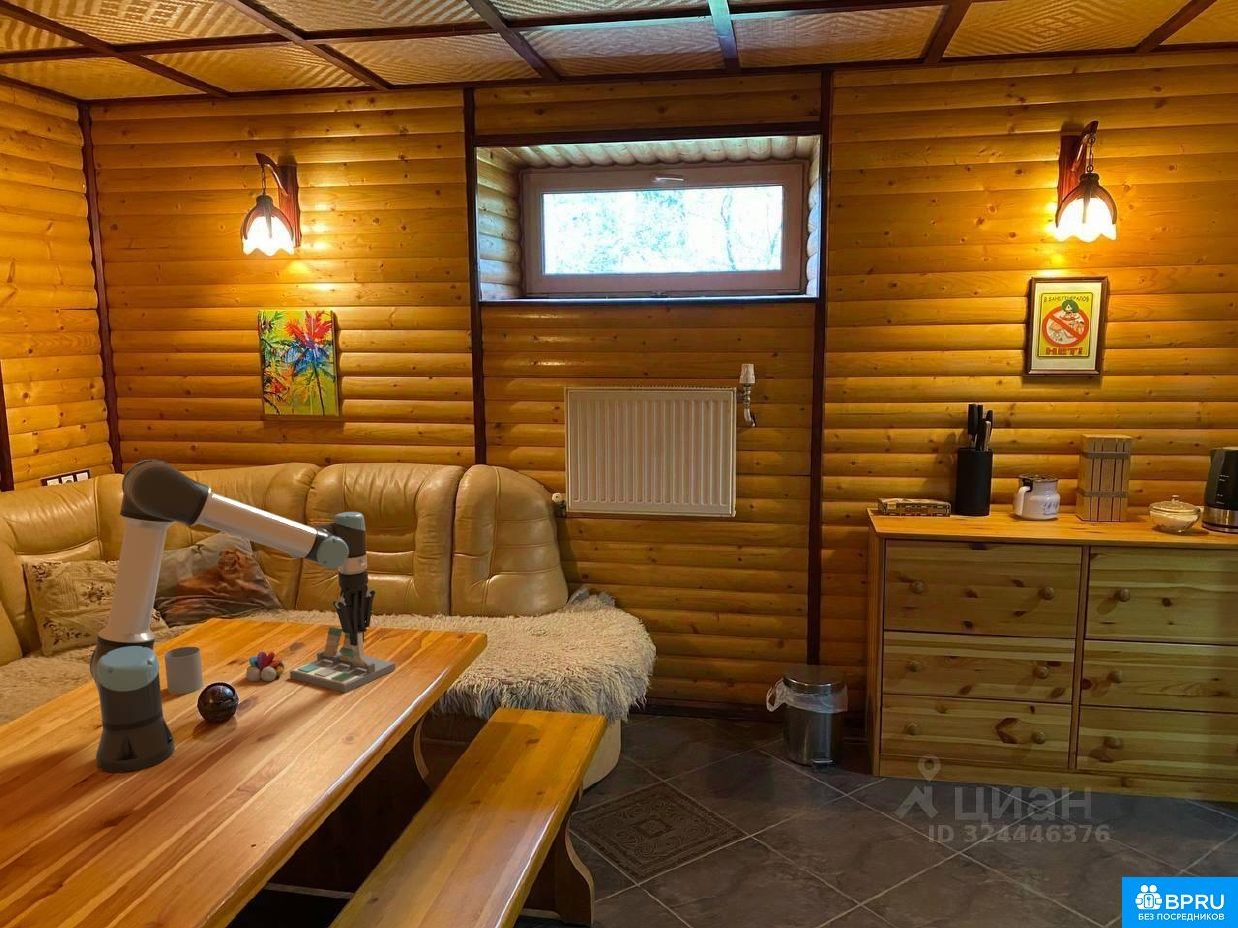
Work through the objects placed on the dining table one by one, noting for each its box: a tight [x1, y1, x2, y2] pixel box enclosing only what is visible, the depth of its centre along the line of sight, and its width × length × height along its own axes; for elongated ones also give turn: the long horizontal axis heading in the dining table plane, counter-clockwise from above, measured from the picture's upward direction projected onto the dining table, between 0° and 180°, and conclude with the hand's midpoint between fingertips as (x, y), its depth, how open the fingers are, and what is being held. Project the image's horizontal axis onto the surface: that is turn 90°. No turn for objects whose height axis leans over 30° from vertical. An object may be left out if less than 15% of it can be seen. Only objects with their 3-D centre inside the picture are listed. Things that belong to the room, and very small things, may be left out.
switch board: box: [289, 650, 396, 694], centre depth 239 cm, size 18×21×4 cm
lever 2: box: [338, 633, 352, 665], centre depth 240 cm, size 1×4×9 cm, turn 60°
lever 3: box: [339, 646, 367, 669], centre depth 234 cm, size 1×4×9 cm
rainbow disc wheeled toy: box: [245, 651, 286, 682], centre depth 237 cm, size 8×10×7 cm
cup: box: [164, 646, 204, 696], centre depth 230 cm, size 8×8×10 cm
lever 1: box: [322, 626, 343, 661], centre depth 243 cm, size 1×4×9 cm, turn 60°
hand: (358, 655), depth 235 cm, fingers closed
